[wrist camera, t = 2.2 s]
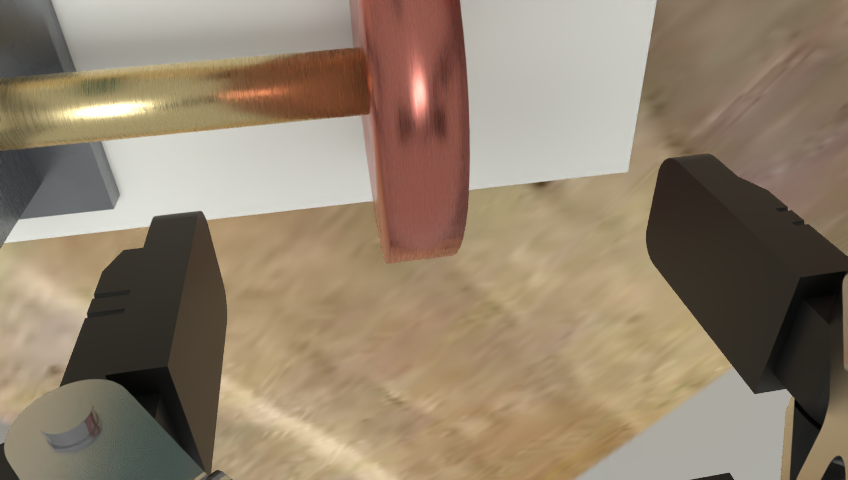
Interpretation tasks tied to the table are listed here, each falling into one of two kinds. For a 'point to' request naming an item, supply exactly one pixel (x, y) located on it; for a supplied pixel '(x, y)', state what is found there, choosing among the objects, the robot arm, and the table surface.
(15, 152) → the grey square frame
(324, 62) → the copper disc with handle
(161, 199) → the base board
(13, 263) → the table surface
